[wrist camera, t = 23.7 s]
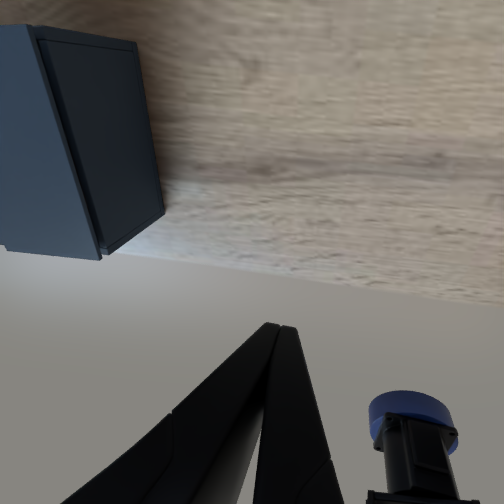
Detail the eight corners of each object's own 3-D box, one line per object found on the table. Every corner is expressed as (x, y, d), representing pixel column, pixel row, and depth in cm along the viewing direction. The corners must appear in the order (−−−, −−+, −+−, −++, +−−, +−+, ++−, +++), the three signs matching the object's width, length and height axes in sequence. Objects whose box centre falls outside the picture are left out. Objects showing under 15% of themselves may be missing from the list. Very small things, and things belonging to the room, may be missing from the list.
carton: (136, 41, 17) (26, 21, 12) (165, 214, 23) (100, 261, 17) (-27, 49, 21) (-180, 36, 15) (33, 199, 26) (-61, 235, 20)
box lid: (31, 25, 12) (25, 23, 12) (102, 258, 17) (99, 261, 17) (-93, 31, 13) (-101, 29, 13) (11, 248, 18) (6, 251, 18)
